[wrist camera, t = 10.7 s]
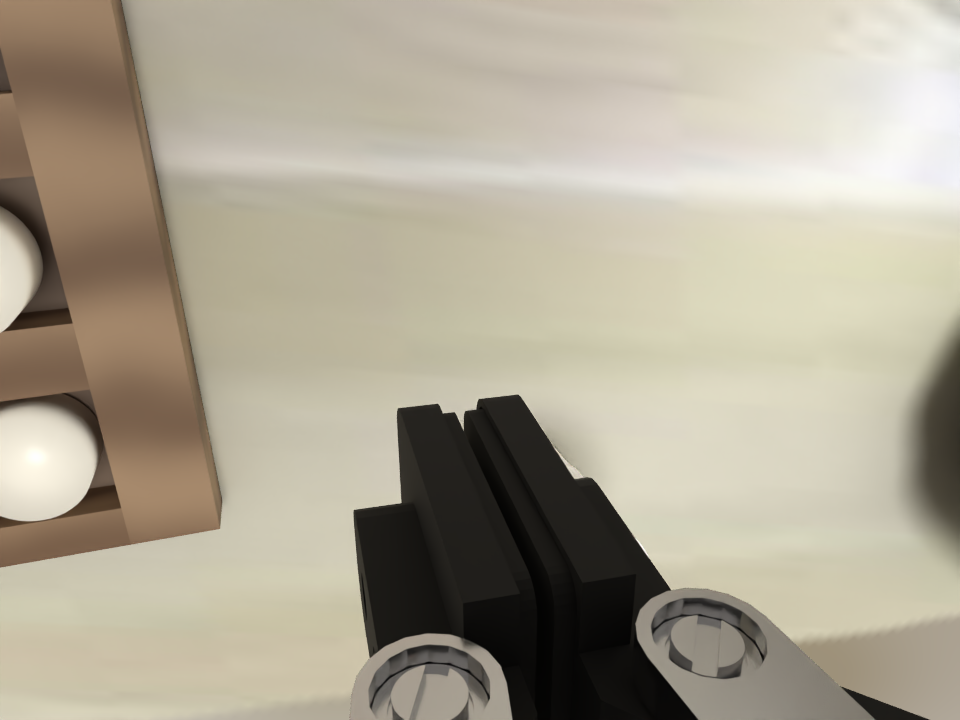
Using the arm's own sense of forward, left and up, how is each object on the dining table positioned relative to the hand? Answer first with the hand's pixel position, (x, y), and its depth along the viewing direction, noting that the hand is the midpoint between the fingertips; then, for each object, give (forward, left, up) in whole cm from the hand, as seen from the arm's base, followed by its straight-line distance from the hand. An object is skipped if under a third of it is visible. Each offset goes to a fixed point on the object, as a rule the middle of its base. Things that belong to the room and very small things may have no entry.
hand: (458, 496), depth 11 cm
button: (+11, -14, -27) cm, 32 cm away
